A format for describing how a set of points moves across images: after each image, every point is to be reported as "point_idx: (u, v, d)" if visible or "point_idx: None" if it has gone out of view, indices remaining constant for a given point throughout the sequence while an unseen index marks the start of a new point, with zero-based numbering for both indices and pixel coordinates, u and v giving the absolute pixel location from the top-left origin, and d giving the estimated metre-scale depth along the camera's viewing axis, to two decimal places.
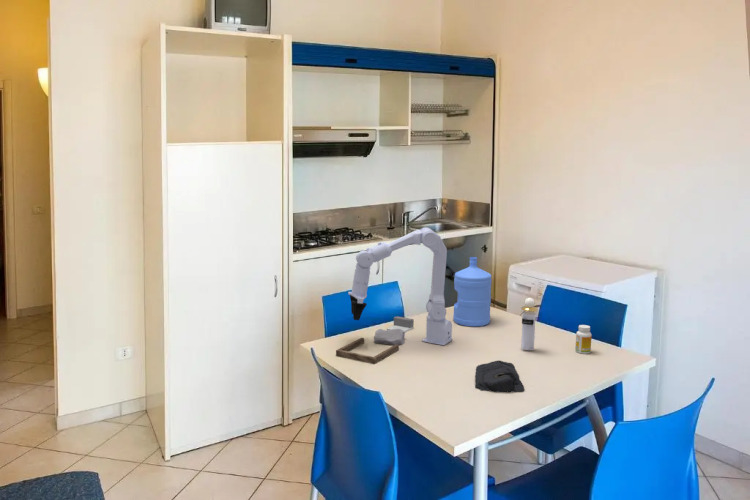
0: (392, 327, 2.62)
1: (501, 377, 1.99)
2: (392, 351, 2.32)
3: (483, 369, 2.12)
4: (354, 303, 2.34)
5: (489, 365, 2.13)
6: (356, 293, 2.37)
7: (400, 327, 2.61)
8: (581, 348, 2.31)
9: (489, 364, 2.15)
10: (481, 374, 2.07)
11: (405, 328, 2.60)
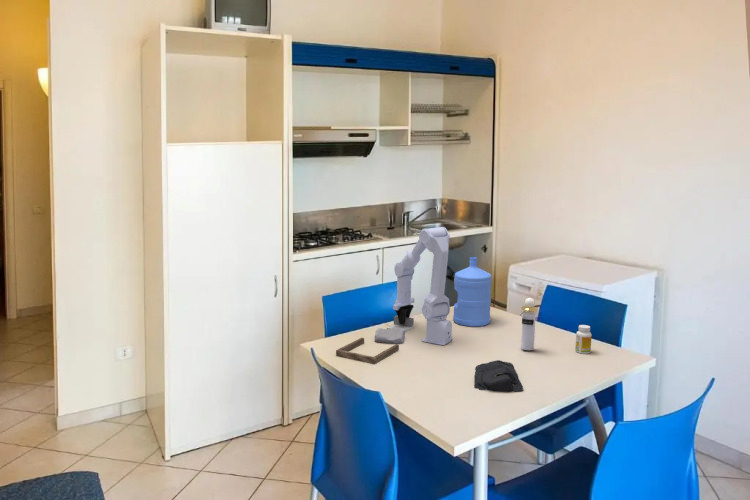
0: (392, 326, 2.62)
1: (500, 377, 2.00)
2: (392, 351, 2.32)
3: (482, 369, 2.13)
4: None
5: (488, 365, 2.14)
6: (398, 301, 2.60)
7: (400, 326, 2.61)
8: (581, 348, 2.31)
9: (488, 364, 2.15)
10: (481, 374, 2.08)
11: (405, 327, 2.60)
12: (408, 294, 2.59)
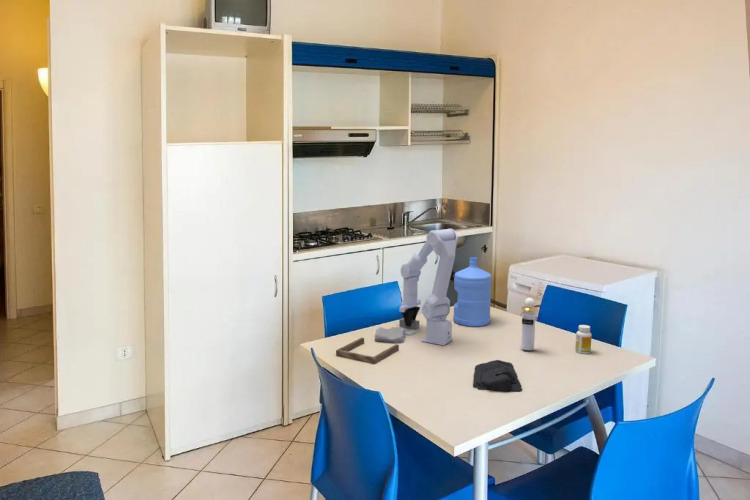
0: None
1: (499, 376, 2.00)
2: (392, 351, 2.32)
3: (482, 368, 2.13)
4: None
5: (488, 365, 2.14)
6: (404, 303, 2.56)
7: (406, 329, 2.58)
8: (581, 348, 2.31)
9: (487, 363, 2.15)
10: (480, 373, 2.08)
11: (411, 330, 2.56)
12: (414, 296, 2.55)
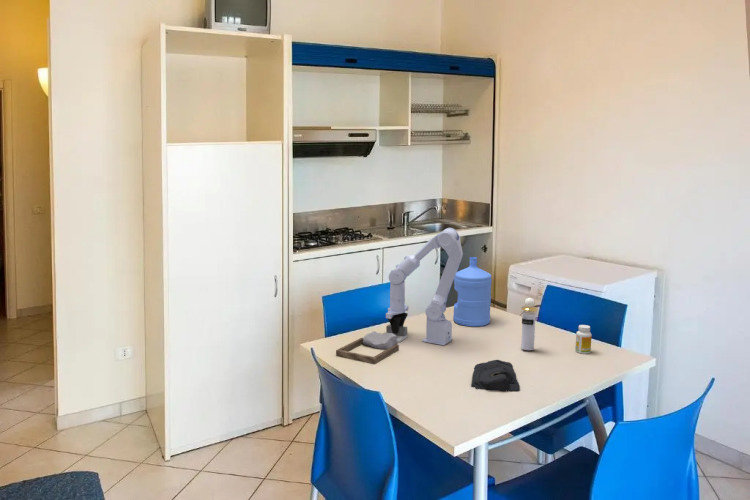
0: None
1: (497, 376, 2.00)
2: (392, 351, 2.32)
3: (481, 368, 2.13)
4: None
5: (487, 364, 2.14)
6: (391, 309, 2.48)
7: None
8: (581, 348, 2.31)
9: (487, 363, 2.15)
10: (478, 373, 2.09)
11: (399, 337, 2.47)
12: (402, 302, 2.46)
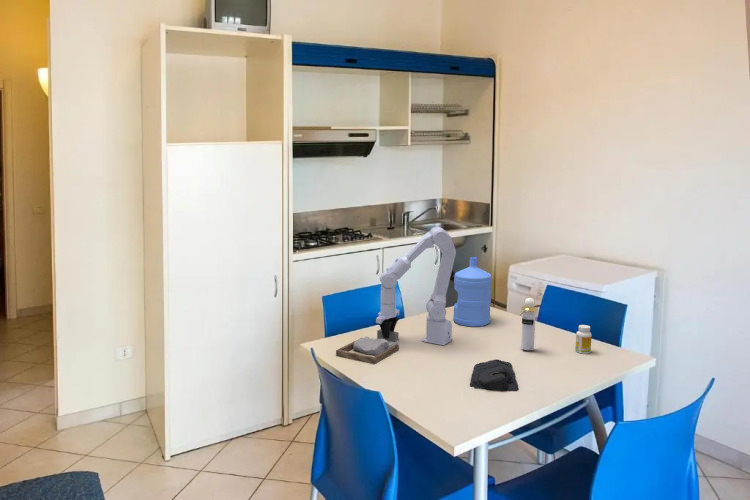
0: None
1: (495, 376, 2.01)
2: (392, 351, 2.32)
3: (480, 368, 2.14)
4: None
5: (486, 364, 2.15)
6: (381, 313, 2.41)
7: None
8: (581, 348, 2.31)
9: (486, 363, 2.16)
10: (478, 372, 2.09)
11: (389, 342, 2.41)
12: (392, 306, 2.40)
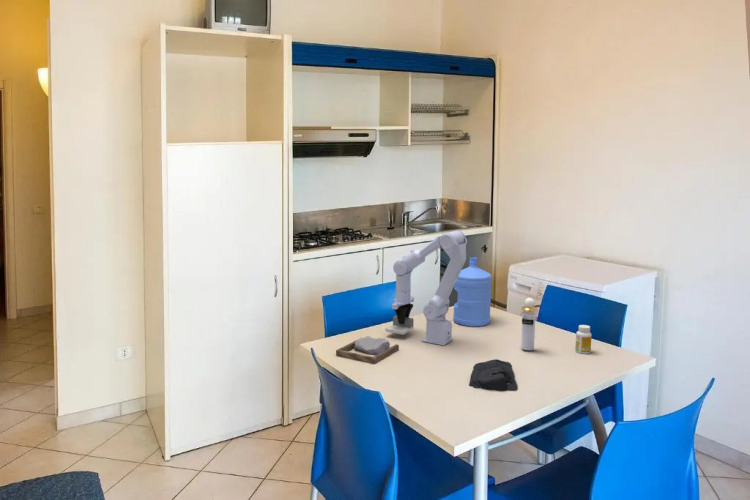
0: (391, 327, 2.52)
1: (494, 375, 2.01)
2: (392, 351, 2.32)
3: (480, 367, 2.14)
4: None
5: (486, 364, 2.15)
6: (397, 300, 2.51)
7: (400, 327, 2.52)
8: (581, 348, 2.31)
9: (486, 363, 2.16)
10: (477, 372, 2.09)
11: (405, 328, 2.51)
12: (407, 293, 2.50)
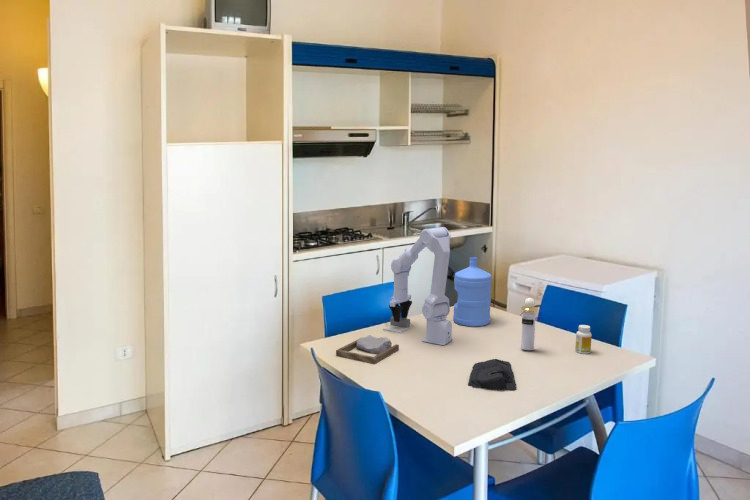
0: (388, 327, 2.62)
1: (493, 375, 2.01)
2: (392, 351, 2.32)
3: (479, 367, 2.14)
4: (390, 306, 2.58)
5: (485, 363, 2.15)
6: (395, 297, 2.60)
7: (397, 327, 2.61)
8: (581, 348, 2.31)
9: (485, 362, 2.16)
10: (476, 372, 2.09)
11: (402, 328, 2.60)
12: (405, 291, 2.58)
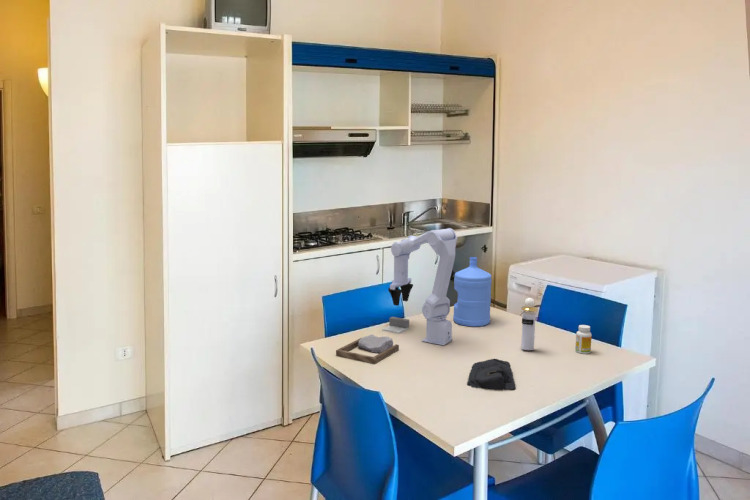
0: (387, 327, 2.61)
1: (492, 375, 2.01)
2: (392, 351, 2.32)
3: (478, 367, 2.15)
4: (389, 289, 2.56)
5: (484, 363, 2.15)
6: (395, 280, 2.58)
7: (396, 327, 2.61)
8: (581, 348, 2.31)
9: (485, 362, 2.17)
10: (475, 371, 2.10)
11: (401, 328, 2.59)
12: (405, 274, 2.57)
